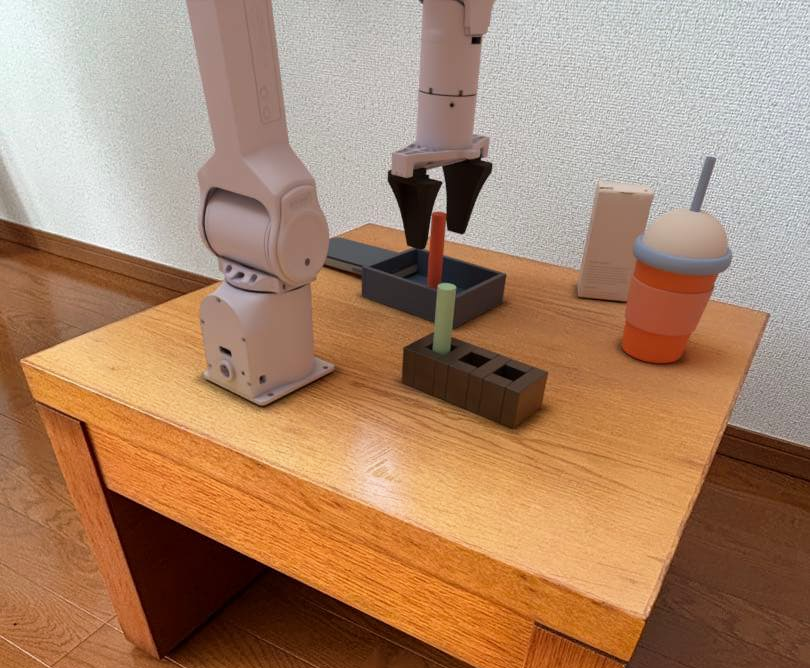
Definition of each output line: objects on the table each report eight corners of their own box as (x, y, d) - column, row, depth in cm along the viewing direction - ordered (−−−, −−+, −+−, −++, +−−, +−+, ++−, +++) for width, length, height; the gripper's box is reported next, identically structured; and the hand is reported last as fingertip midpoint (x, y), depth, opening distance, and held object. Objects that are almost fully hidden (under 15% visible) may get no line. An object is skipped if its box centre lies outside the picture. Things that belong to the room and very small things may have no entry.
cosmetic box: (623, 290, 82) (652, 183, 74) (627, 304, 79) (657, 193, 71) (574, 285, 83) (597, 178, 75) (575, 298, 79) (599, 188, 71)
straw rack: (541, 407, 59) (548, 371, 57) (513, 429, 56) (519, 392, 54) (432, 364, 64) (435, 330, 62) (401, 382, 61) (403, 347, 59)
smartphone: (337, 235, 89) (426, 258, 82) (337, 248, 90) (425, 272, 83) (297, 247, 84) (389, 273, 77) (298, 261, 85) (388, 287, 79)
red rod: (434, 300, 76) (440, 216, 70) (423, 296, 77) (428, 213, 71) (442, 296, 77) (449, 213, 71) (431, 292, 78) (437, 210, 72)
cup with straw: (700, 376, 65) (777, 174, 53) (608, 364, 66) (662, 163, 54) (689, 338, 72) (755, 152, 60) (605, 328, 73) (653, 142, 61)
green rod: (440, 387, 61) (449, 291, 55) (426, 382, 62) (433, 286, 56) (450, 381, 62) (459, 286, 56) (436, 376, 63) (444, 281, 57)
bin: (502, 302, 77) (506, 273, 75) (453, 329, 71) (456, 297, 69) (413, 274, 83) (415, 246, 81) (361, 296, 77) (361, 266, 74)
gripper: (437, 104, 57) (426, 263, 66) (520, 91, 66) (501, 233, 75) (375, 93, 60) (373, 247, 69) (463, 82, 69) (451, 220, 78)
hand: (436, 239), depth 73 cm, fingers open, 7 cm apart
